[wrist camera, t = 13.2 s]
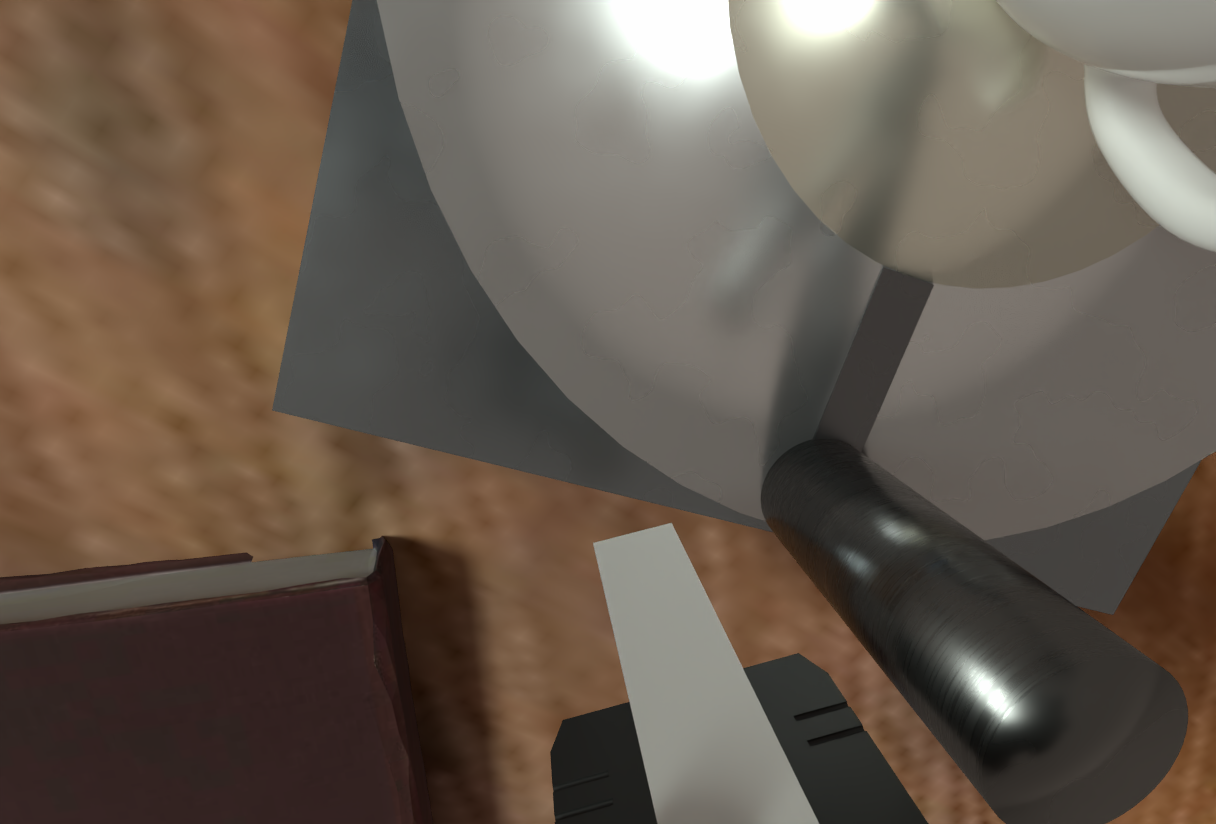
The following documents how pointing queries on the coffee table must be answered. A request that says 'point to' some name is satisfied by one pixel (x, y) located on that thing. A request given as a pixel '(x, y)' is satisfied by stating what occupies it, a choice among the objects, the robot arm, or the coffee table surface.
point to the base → (520, 347)
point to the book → (209, 694)
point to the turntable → (851, 319)
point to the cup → (1139, 94)
